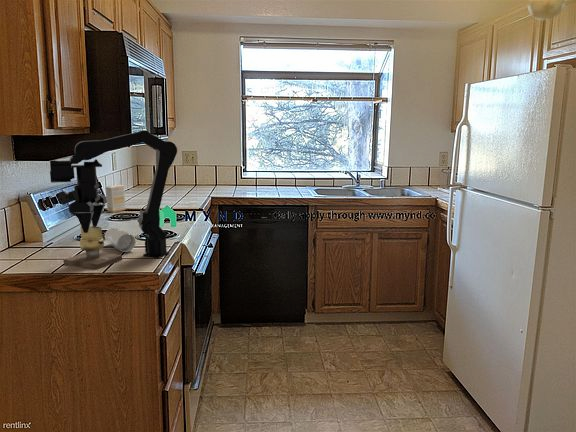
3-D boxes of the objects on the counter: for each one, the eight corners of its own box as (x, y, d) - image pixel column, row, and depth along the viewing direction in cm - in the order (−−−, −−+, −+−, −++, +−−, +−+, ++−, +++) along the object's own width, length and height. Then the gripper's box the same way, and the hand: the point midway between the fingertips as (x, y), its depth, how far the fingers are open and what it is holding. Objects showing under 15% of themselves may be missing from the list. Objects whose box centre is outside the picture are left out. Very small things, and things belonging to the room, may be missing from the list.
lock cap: (75, 249, 148) (74, 227, 147) (93, 244, 154) (91, 223, 153) (94, 252, 145) (92, 230, 144) (111, 247, 151) (110, 226, 150)
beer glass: (124, 239, 176) (139, 246, 165) (107, 248, 173) (121, 256, 161) (117, 223, 174) (131, 229, 162) (100, 231, 170) (113, 238, 159)
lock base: (122, 259, 153) (121, 246, 152) (97, 269, 143) (96, 255, 142) (89, 255, 158) (88, 242, 158) (63, 263, 148) (62, 250, 147)
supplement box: (119, 209, 246) (118, 184, 243) (126, 210, 244) (124, 185, 241) (106, 211, 239) (105, 186, 237) (113, 212, 237) (111, 187, 234)
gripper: (71, 178, 154) (74, 223, 157) (48, 185, 136) (52, 236, 139) (105, 178, 155) (108, 223, 158) (87, 185, 137) (91, 236, 140)
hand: (90, 229), depth 149 cm, fingers open, 9 cm apart
